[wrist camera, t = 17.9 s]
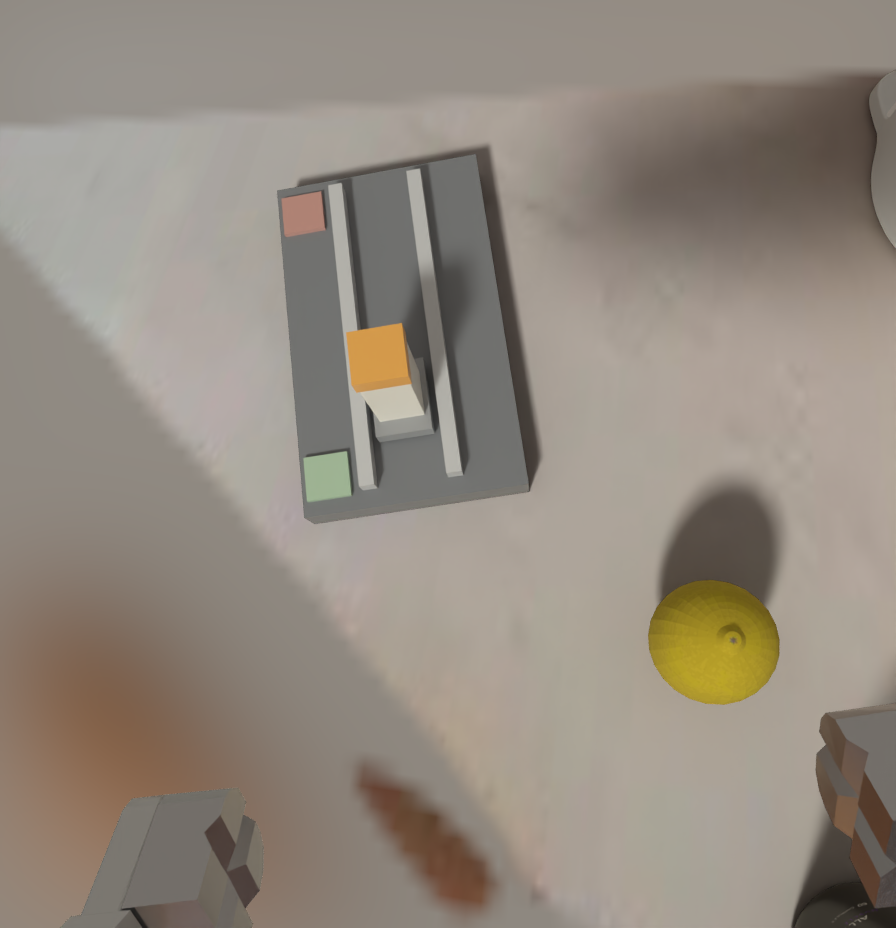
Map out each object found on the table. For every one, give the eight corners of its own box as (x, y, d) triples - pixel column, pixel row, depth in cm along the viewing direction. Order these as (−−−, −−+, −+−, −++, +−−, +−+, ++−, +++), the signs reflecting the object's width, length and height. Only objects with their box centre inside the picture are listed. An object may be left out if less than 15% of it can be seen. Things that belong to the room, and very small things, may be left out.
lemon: (620, 665, 39) (641, 669, 31) (665, 568, 40) (697, 548, 32) (723, 720, 38) (772, 737, 30) (768, 618, 39) (826, 610, 31)
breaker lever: (434, 433, 40) (414, 390, 34) (379, 442, 41) (348, 400, 34) (425, 364, 42) (404, 308, 35) (371, 373, 42) (340, 319, 35)
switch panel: (529, 491, 41) (528, 479, 39) (314, 524, 42) (298, 514, 39) (478, 174, 46) (474, 143, 44) (287, 209, 47) (271, 180, 44)
